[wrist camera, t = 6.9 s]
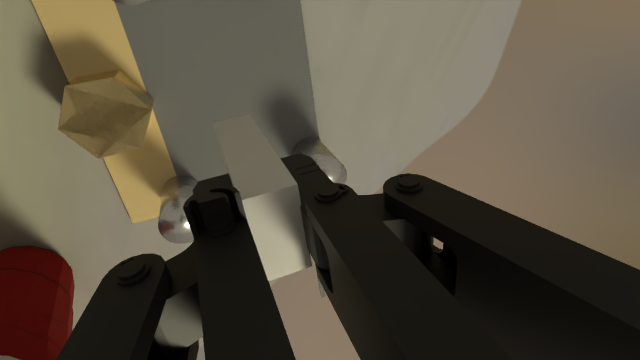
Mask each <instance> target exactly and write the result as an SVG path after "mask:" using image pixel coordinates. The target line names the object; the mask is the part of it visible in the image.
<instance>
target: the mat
mask: <svg viewBox="0 0 640 360" xmlns="http://www.w3.org/2000/svg"><path fill="white" fill-rule="evenodd" d="M31 1H32V3H33V5H34V7H35V9H36V12H37V14H38V16H39V18H40V20H41V23H42V25H43V27H44V29H45V31H46V33H47V36H48V38H49V40H50V42H51V44H52V47H53V49H54V51H55V53H56V55H57V58H58V60H59V62H60V64H61V66H62V69H63V71H64V73H65V75H66V77H67V80H68V82H71V81H72V80H73V79H75V78H76V77H81V76H87V75H92V74H98V73H103V72H109V71H114V70H120V69H121V70H122V71H123V72H124V73H125V74H127V75H128V76H129V77H130V78H131V79H132V80H133V81H134V82H135V83H136V84H138V85H139V86H140V87H141V88H142V89H143V90H144V91H145V92H146V93H148V94H149V95H150V96H151V97H152V98H153V99H154V104H153V108H152V112H151V116H150V120H149V125H148V129H147V133H146V137H145V141H144V144H143V148H142V149H138V150H133V151H129V152H125V153H120V154H116V155H111V156H107V157H103V159H104V161H105V163H106V165H107V167H108V169H109V172H110V174H111V176H112V178H113V180H114V183H115V185H116V187H117V189H118V191H119V194H120V196H121V198H122V200H123V202H124V205H125V207H126V209H127V211H128V213H129V216H130V218H131V220H132V222H133V224H134V223H138V222H142V221H145V220H149V219H153V218H157V217H159V214H160V205H161V195H162V188H163V186H164V184H165V183H166V182H167V181H168V180H169V179H170V178H172V177H175V176H179V175H186V176H190V177H192V178H194V179H196V180H197V181H201V180H205V179H209V178H213V177H216V176H220V175H224V174H227V171H226V168H225V164H224V161H223V157H222V153H221V150H220V146H219V143H218V139H217V136H216V132H215V128H214V125H213V123H216V122H221V121H225V120H229V119H234V118H238V117H242V116H247V115H251V116H252V118H253V119H254V121H255V122H256V124H257V125H258V127H259V128H260V130H261V131H262V133H263V134H264V136H265V137H266V138H267V140H268V141H269V143H270V144H271V146H272V147H273V149H274V150H275V152H276V153H277V155H278V156H279V158H284V157H287V156H291V155H292V151H293V148H294V146H295V145H296V144H297V143H298V142H299V141H300V140H302V139H304V138H308V137H313V138H317V139H319V136H318V129H317V121H316V114H315V106H314V99H313V91H312V84H311V77H310V69H309V62H308V54H307V47H306V40H305V32H304V25H303V17H302V10H301V3H300V0H151V1H149V2H147V3H142V4H137V5H123V4H119V3H116V2H114V1H112V0H31Z"/></svg>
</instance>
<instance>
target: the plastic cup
mask: <svg viewBox="0 0 640 360" xmlns="http://www.w3.org/2000/svg"><path fill="white" fill-rule="evenodd" d="M73 296H74V280H73V274H72V269H71V267H70V266H69V265H68V264H67V262H66V261H65V260H64V258H62V257H60V256H58V255H57V254H55V253H53V252H51V251H50V250H46V249H41V248H37V247H32V246H26V247H11V248H8V249H5V250H2V251H0V360H56V359H57V357H58V355H59V354H60V352H61V350H62V348H63V347H64V345H65V343H66V341H67V340H68V338H69V336H70V335H71V333H72V325H73V308H72V305H73Z"/></svg>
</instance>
